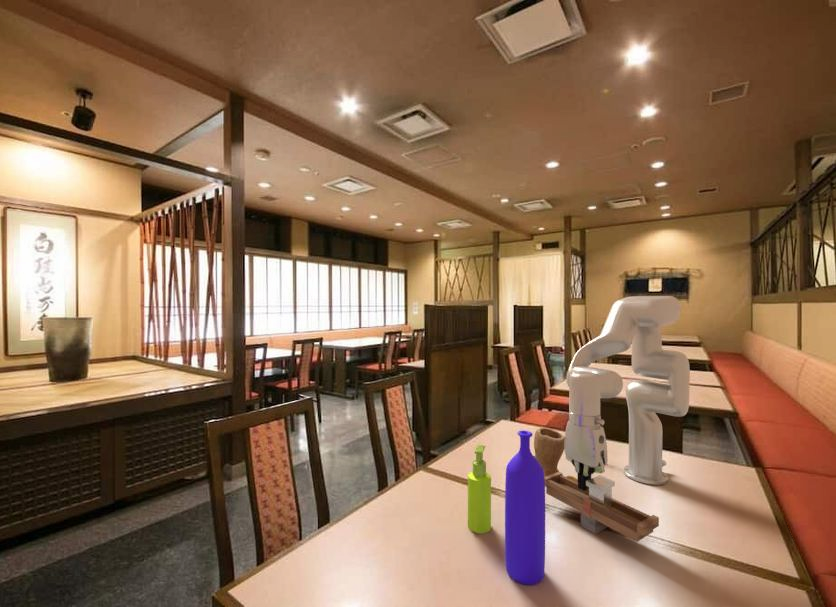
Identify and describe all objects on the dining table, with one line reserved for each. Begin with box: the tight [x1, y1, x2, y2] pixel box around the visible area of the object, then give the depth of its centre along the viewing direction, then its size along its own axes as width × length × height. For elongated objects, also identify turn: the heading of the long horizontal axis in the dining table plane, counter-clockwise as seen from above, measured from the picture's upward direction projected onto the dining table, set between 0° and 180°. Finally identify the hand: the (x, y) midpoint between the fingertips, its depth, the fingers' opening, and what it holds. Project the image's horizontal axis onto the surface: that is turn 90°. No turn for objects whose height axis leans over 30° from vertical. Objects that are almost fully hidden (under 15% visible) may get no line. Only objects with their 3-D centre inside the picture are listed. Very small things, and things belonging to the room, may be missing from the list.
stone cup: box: [533, 427, 565, 477], centre depth 126 cm, size 15×12×15 cm
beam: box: [544, 471, 660, 543], centre depth 97 cm, size 7×27×8 cm, turn 32°
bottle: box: [504, 430, 546, 586], centre depth 80 cm, size 8×8×30 cm
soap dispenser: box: [467, 444, 492, 534], centre depth 97 cm, size 6×7×20 cm
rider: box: [586, 474, 616, 508], centre depth 95 cm, size 6×4×6 cm, turn 122°
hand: (584, 488), depth 99 cm, fingers closed
